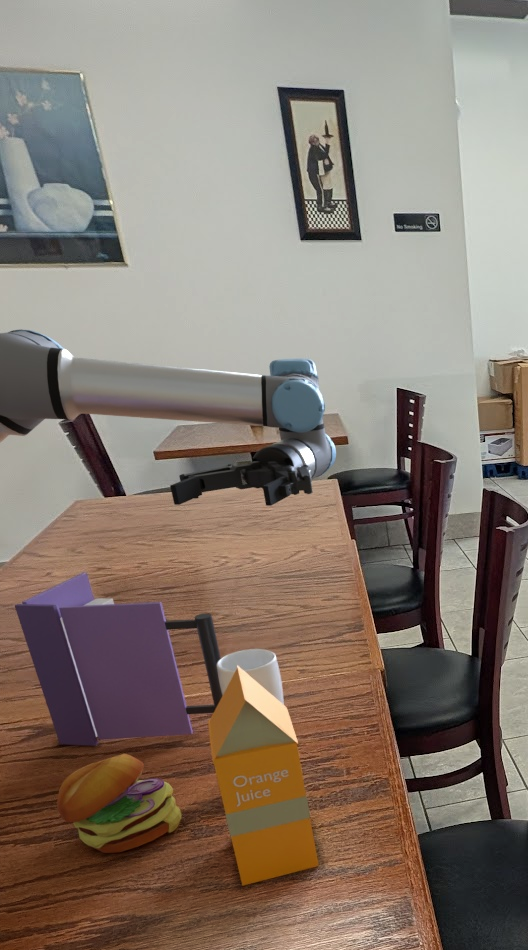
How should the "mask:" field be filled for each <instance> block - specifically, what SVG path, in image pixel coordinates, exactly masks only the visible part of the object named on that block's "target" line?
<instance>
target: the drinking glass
mask: <svg viewBox="0 0 528 950" xmlns="http://www.w3.org/2000/svg"><path fill="white" fill-rule="evenodd" d="M237 665H238V666H239V667H240V668H241V669H243V670H244V671H245V672H246V673H247V674H248V675H250V676H251V677H252V678H253V679H254V680H255V681H257V682H258V683H259V684H260V685H261V686H262V687H263V688H265V689H266V690H267V691H268V692H269V693H270V694H272V695H273V696H274V697H275V698H276V699H277V700H279V701H280V702H281V703H282V704H283V705H284V706H285V698H284V689H283V681H282V675H281V671H280V666H279V662H278V659H277V655H276V653H275V652H273V651H271V650H268V649H263V648H251V649H249V648H248V649H243V650H238V651H234V652H231V653H228V654H226V655H224V656H223V657H221V659H220V660H219V661H218V662H217V671H218V677H219V683H220V688H221V692H222V696H223V694H224V692H225V690H226V688H227V686H228V685H229V683H230V681H231V679H232V677H233V675H234V673H235V671H236V669H237Z"/></svg>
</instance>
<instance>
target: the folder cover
mask: <svg viewBox="0 0 528 950" xmlns="http://www.w3.org/2000/svg"><path fill="white" fill-rule="evenodd" d="M59 610H60V613H61V617H62V620H63V623H64V626H65V630H66V633H67V636H68V640H69V643H70V646H71V650H72V653H73V656H74V659H75V663H76V666H77V669H78V673H79V676H80V679H81V683H82V686H83V689H84V693H85V696H86V699H87V702H88V706H89V709H90V712H91V716H92V719H93V722H94V726H95V729H96V732H97V735H98V736H97V740H99V741H100V740H116V739H134V738H135V739H137V738H153V737H171V736H188V735H192V734H193V733H194V731H193V727H192V722H191V718H190V715H202V714H213V713H214V711H215V709H216V707H217V705H218V704H219V702H220V700H221V698H222V692H221V688H220V683H219V677H218V671H217V662H218V661H219V660H220V659H221V658H222V657H221V652H220V648H219V643H218V638H217V634H216V629H215V625H214V620H213V615H212V614H211V613H206V612H205V613H199V614H197V615H195V616H194V619H178V620H167V619H166V616H165V611H164V607H163V603H162V601H155V602H154V601H153V602H132V603H130V602H129V603H114V604H107V605H85V606H62V607H60V608H59ZM188 629H189V630H190V629H191V630H192V629H196V630H197V635H198V639H199V644H200V648H201V652H202V657H203V661H204V665H205V670H206V674H207V679H208V684H209V688H210V692H211V696H212V701H213V704H200V705H187V702H186V698H185V693H184V690H183V686H182V680H181V676H180V672H179V668H178V665H177V661H176V656H175V653H174V649H173V644H172V641H171V636H170V633H169V630H188Z"/></svg>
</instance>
